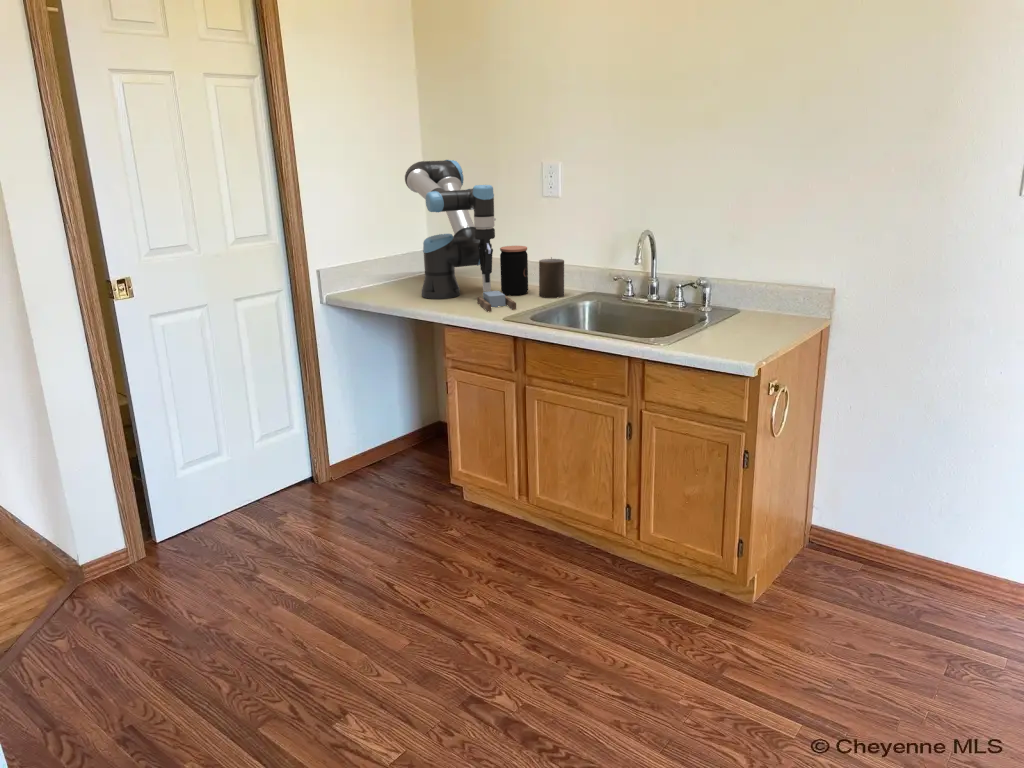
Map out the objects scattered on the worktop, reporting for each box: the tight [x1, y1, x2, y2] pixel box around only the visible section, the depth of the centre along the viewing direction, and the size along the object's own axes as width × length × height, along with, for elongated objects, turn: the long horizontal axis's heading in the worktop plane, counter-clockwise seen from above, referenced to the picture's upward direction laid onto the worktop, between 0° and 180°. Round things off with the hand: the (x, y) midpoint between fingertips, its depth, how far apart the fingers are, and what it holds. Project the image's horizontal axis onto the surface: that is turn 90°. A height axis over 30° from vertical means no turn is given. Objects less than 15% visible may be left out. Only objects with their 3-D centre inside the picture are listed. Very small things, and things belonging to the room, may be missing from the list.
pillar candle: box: [538, 256, 565, 299], centre depth 302 cm, size 10×10×15 cm
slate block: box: [482, 290, 507, 308], centre depth 291 cm, size 9×6×4 cm, turn 17°
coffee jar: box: [499, 245, 529, 297], centre depth 308 cm, size 11×11×18 cm
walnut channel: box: [476, 295, 517, 312], centre depth 288 cm, size 16×10×2 cm, turn 16°
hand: (486, 290), depth 300 cm, fingers closed
